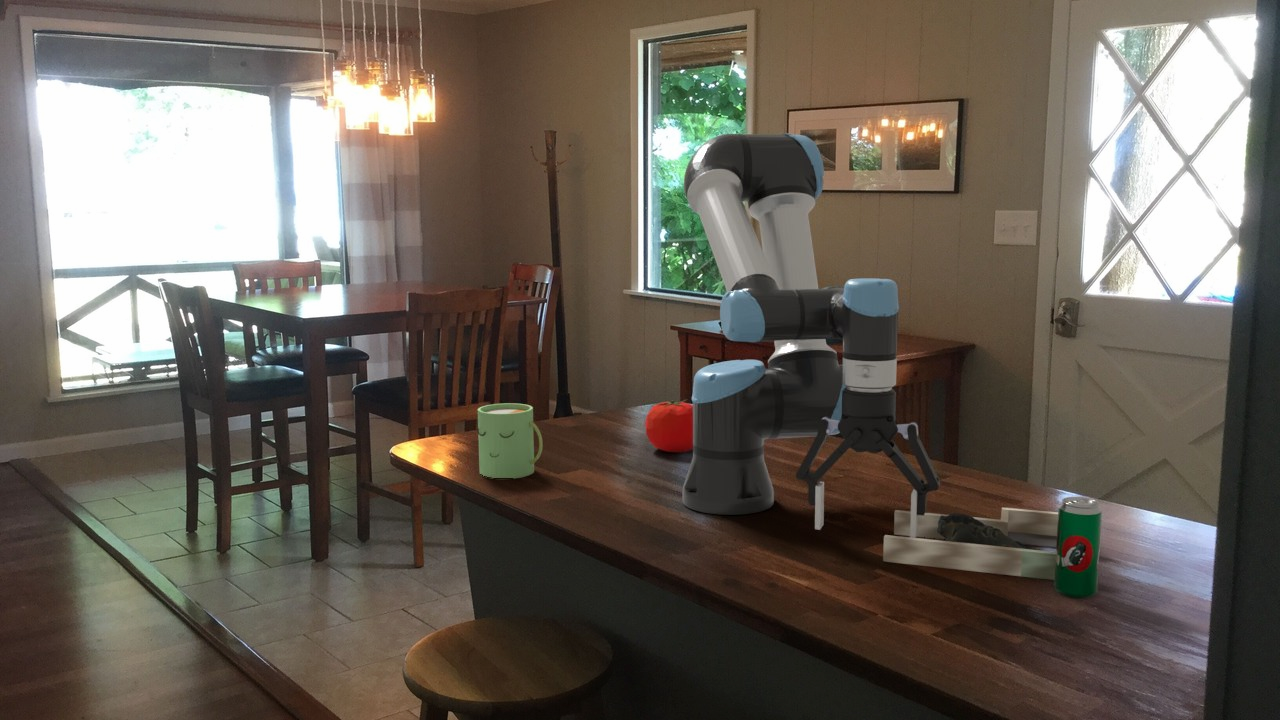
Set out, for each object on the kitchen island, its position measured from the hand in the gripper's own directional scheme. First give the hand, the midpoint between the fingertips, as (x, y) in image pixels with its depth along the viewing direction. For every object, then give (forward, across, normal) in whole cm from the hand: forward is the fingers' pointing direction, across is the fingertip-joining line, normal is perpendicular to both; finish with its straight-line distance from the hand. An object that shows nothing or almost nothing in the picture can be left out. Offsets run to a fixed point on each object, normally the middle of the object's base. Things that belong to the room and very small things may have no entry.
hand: (865, 531), depth 152 cm
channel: (+2, +17, +4) cm, 17 cm away
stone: (+2, +16, +2) cm, 17 cm away
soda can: (+2, +28, -10) cm, 30 cm away
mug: (+2, -68, +20) cm, 71 cm away
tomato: (+2, -45, +46) cm, 64 cm away
